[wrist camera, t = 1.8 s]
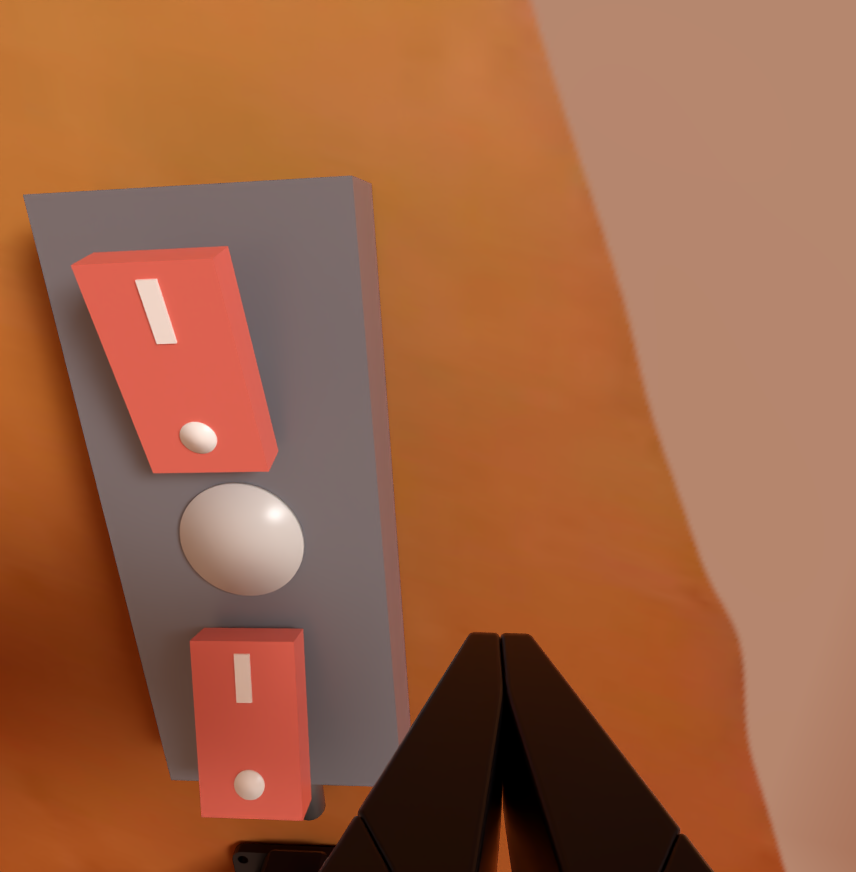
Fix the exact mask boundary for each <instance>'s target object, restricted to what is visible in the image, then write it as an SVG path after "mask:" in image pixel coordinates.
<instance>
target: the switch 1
mask: <svg viewBox="0 0 856 872" xmlns="http://www.w3.org/2000/svg"><path fill="white" fill-rule="evenodd" d="M71 268H72V270H73V273H74V275H75V278H76V280H77V283H78V285H79V288H80V290H81V293H82V295H83V298H84V300H85V303H86V305H87V308H88V310H89V313H90V315H91V318H92V320H93V323H94V325H95V328H96V330H97V333H98V335H99V338H100V340H101V343H102V346H103V348H104V351H105V353H106V356H107V358H108V361H109V363H110V366H111V368H112V371H113V373H114V376H115V378H116V381H117V383H118V386H119V388H120V391H121V393H122V396H123V398H124V401H125V403H126V406H127V408H128V411H129V413H130V416H131V418H132V421H133V423H134V426H135V429H136V431H137V434H138V436H139V439H140V441H141V444H142V446H143V449H144V451H145V454H146V456H147V459H148V461H149V464H150V466H151V469H152V471H153V473H206V472H269V470H270V468H271V466H272V464H273V462H274V460H275V458H276V456H277V453H278V447H277V443H276V439H275V435H274V431H273V427H272V423H271V419H270V415H269V410H268V406H267V402H266V398H265V394H264V390H263V386H262V382H261V378H260V374H259V370H258V366H257V362H256V358H255V354H254V350H253V345H252V341H251V337H250V333H249V329H248V325H247V321H246V317H245V313H244V309H243V305H242V301H241V297H240V293H239V289H238V284H237V280H236V276H235V272H234V268H233V264H232V260H231V256H230V252H229V248H228V246H218V247H197V248H177V249H156V250H135V251H115V252H94V253H92V254H90V255H88V256H86V257H85V258H83V259H81V260H79V261H77V262H75V263H74V264H72V265H71Z"/></svg>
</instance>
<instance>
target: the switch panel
mask: <svg viewBox="0 0 856 872" xmlns="http://www.w3.org/2000/svg"><path fill="white" fill-rule="evenodd" d="M23 197H24V201H25V205H26V209H27V213H28V217H29V220H30V224H31V228H32V232H33V236H34V240H35V244H36V248H37V252H38V256H39V260H40V264H41V268H42V272H43V276H44V280H45V284H46V288H47V292H48V295H49V299H50V303H51V307H52V311H53V315H54V319H55V323H56V327H57V331H58V335H59V339H60V343H61V347H62V351H63V355H64V359H65V363H66V367H67V370H68V374H69V378H70V382H71V386H72V390H73V394H74V398H75V402H76V406H77V410H78V414H79V418H80V422H81V426H82V430H83V434H84V438H85V442H86V445H87V449H88V453H89V457H90V461H91V465H92V469H93V473H94V477H95V481H96V485H97V489H98V493H99V497H100V501H101V505H102V509H103V513H104V517H105V520H106V524H107V528H108V532H109V536H110V540H111V544H112V548H113V552H114V556H115V560H116V564H117V568H118V572H119V576H120V580H121V584H122V588H123V592H124V595H125V599H126V603H127V607H128V611H129V615H130V619H131V623H132V627H133V631H134V635H135V639H136V643H137V647H138V651H139V655H140V659H141V663H142V667H143V670H144V674H145V678H146V682H147V686H148V690H149V694H150V698H151V702H152V706H153V710H154V714H155V718H156V722H157V726H158V730H159V734H160V738H161V742H162V745H163V749H164V753H165V757H166V761H167V765H168V769H169V773H170V777H171V780H187V781H199V772H198V757H197V742H196V727H195V712H194V698H193V683H192V668H191V653H190V640H191V639H192V638H193V637H194V636H196V635H197V634H198V633H199V632H200V631H201V630H202V629H203V628H291V629H303V634H304V655H305V675H306V696H307V716H308V737H309V757H310V778H311V798H312V799H311V802H310V804H309V807H308V809H307V812H306V814H305V817H304V820H314V819H316V818H318V817H319V816H320V815H321V814H322V813H323V811H324V809H325V798H324V791H323V785H347V786H374V785H375V783H376V782H377V780H378V779H379V777H380V775H381V774H382V772H383V771H384V769H385V767H386V766H387V764H388V763H389V761H390V760H391V758H392V756H393V755H394V753H395V752H396V750H397V748H398V747H399V745H400V744H401V742H402V740H403V739H404V737H405V736H406V734H407V732H408V731H409V729H410V711H409V698H408V684H407V670H406V656H405V642H404V628H403V614H402V601H401V587H400V573H399V559H398V545H397V531H396V517H395V504H394V490H393V476H392V462H391V448H390V434H389V421H388V407H387V393H386V379H385V365H384V351H383V337H382V324H381V310H380V296H379V282H378V268H377V254H376V240H375V227H374V213H373V199H372V185H371V183H368V182H366V181H364V180H361V179H359V178H356V177H354V176H339V177H321V178H304V179H287V180H269V181H252V182H235V183H218V184H200V185H183V186H166V187H148V188H131V189H114V190H97V191H79V192H62V193H45V194H28V195H23ZM218 246H228V248H229V252H230V256H231V260H232V264H233V268H234V272H235V276H236V280H237V284H238V289H239V293H240V297H241V301H242V305H243V309H244V313H245V317H246V321H247V325H248V329H249V333H250V337H251V341H252V345H253V350H254V354H255V358H256V362H257V366H258V370H259V374H260V378H261V382H262V386H263V390H264V394H265V398H266V402H267V406H268V410H269V415H270V419H271V423H272V427H273V431H274V435H275V439H276V443H277V447H278V453H277V456H276V458H275V460H274V462H273V464H272V466H271V468H270V470H269V472H206V473H153V471H152V469H151V466H150V464H149V461H148V459H147V456H146V454H145V451H144V449H143V446H142V444H141V441H140V439H139V436H138V434H137V431H136V429H135V426H134V423H133V421H132V418H131V416H130V413H129V411H128V408H127V406H126V403H125V401H124V398H123V396H122V393H121V391H120V388H119V386H118V383H117V381H116V378H115V376H114V373H113V371H112V368H111V366H110V363H109V361H108V358H107V356H106V353H105V351H104V348H103V346H102V343H101V340H100V338H99V335H98V333H97V330H96V328H95V325H94V323H93V320H92V318H91V315H90V313H89V310H88V308H87V305H86V303H85V300H84V298H83V295H82V293H81V290H80V288H79V285H78V283H77V280H76V278H75V275H74V273H73V270H72V268H71V265H72V264H74V263H75V262H77V261H79V260H81V259H83V258H85V257H86V256H88V255H90V254H92V253H94V252H115V251H135V250H156V249H177V248H197V247H218Z"/></svg>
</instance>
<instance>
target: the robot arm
mask: <svg viewBox="0 0 856 872" xmlns="http://www.w3.org/2000/svg"><path fill="white" fill-rule="evenodd" d="M502 797H503V811H504V819H505V828H506V835H507V842H508V849H509V856H510V862H511V869H512V872H714V871H713V870H712V869H711V868H710V866H709V865H708V864H707V863H706V861H705V860H704V859H703V857H702V856H701V855H700V854H699V852H698V851H697V850H696V848H695V847H694V846H693V844H692V843H691V842H690V840H689V839H688V838H687V836H686V835H684V834H680V828H679V827H678V825H677V824H676V823H675V821H674V820H673V819H672V817H671V816H670V815H669V814H668V812H667V811H666V810H665V808H664V807H663V806H662V805H661V803H660V802H659V801H658V799H657V798H656V797H655V795H654V794H653V793H652V792H651V790H650V789H649V788H648V786H647V785H646V784H645V782H644V781H643V780H642V779H641V777H640V776H639V775H638V773H637V772H636V771H635V770H634V768H633V767H632V766H631V764H630V763H629V762H628V760H627V759H626V758H625V757H624V755H623V754H622V753H621V751H620V750H619V749H618V747H617V746H616V745H615V744H614V742H613V741H612V740H611V738H610V737H609V736H608V735H607V733H606V732H605V731H604V729H603V728H602V727H601V725H600V724H599V723H598V722H597V720H596V719H595V718H594V716H593V715H592V714H591V712H590V711H589V710H588V709H587V707H586V706H585V705H584V703H583V702H582V701H581V700H580V698H579V697H578V696H577V694H576V693H575V692H574V690H573V689H572V688H571V687H570V685H569V684H568V683H567V681H566V680H565V679H564V677H563V676H562V675H561V674H560V672H559V671H558V670H557V668H556V667H555V666H554V665H553V663H552V662H551V661H550V659H549V658H548V657H547V655H546V654H545V653H544V652H543V650H542V649H541V648H540V646H539V645H538V644H537V642H536V641H535V640H534V639H533V637H532V636H530V635H529V634H519V633H504V634H502V635H501V637H499V635H498V634H497V633H485V632H473V633H470V634H469V636H468V637H467V638H466V640H465V642H464V643H463V645H462V646H461V648H460V650H459V651H458V653H457V654H456V656H455V658H454V659H453V661H452V662H451V664H450V666H449V667H448V669H447V670H446V672H445V673H444V675H443V677H442V678H441V680H440V681H439V683H438V685H437V686H436V688H435V689H434V691H433V693H432V694H431V696H430V697H429V699H428V701H427V702H426V704H425V705H424V707H423V709H422V710H421V712H420V713H419V715H418V717H417V718H416V720H415V721H414V723H413V724H412V726H411V728H410V729H409V731H408V732H407V734H406V736H405V737H404V739H403V740H402V742H401V744H400V745H399V747H398V748H397V750H396V752H395V753H394V755H393V756H392V758H391V760H390V761H389V763H388V764H387V766H386V767H385V769H384V771H383V772H382V774H381V775H380V777H379V779H378V780H377V782H376V783H375V785H374V787H373V788H372V790H371V791H370V793H369V795H368V796H367V798H366V799H365V801H364V803H363V804H362V806H361V807H360V809H359V811H358V816H355V817H354V818H353V820H352V821H351V823H350V824H349V826H348V827H347V829H346V831H345V832H344V834H343V835H342V837H341V839H340V840H339V842H338V843H337V845H336V847H314V846H289V845H265V844H240V845H238V846H237V847H236V849H235V852H234V855H233V863H234V868H235V872H497V862H498V851H499V839H500V827H501V810H502Z"/></svg>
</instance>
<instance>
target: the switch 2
mask: <svg viewBox="0 0 856 872" xmlns="http://www.w3.org/2000/svg"><path fill="white" fill-rule="evenodd" d="M190 653H191V668H192V683H193V698H194V712H195V727H196V742H197V757H198V772H199V787H200V802H201V817H215V818H242V819H270V820H297V821H303V819H304V817H305V814H306V812H307V809H308V807H309V804H310V802H311V799H312V798H311V778H310V757H309V737H308V716H307V696H306V675H305V655H304V634H303V629H291V628H203V629H202V630H201V631H200V632H199V633H198V634H197V635H196V636H194V637H193V638H192V639H191V640H190Z"/></svg>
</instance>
